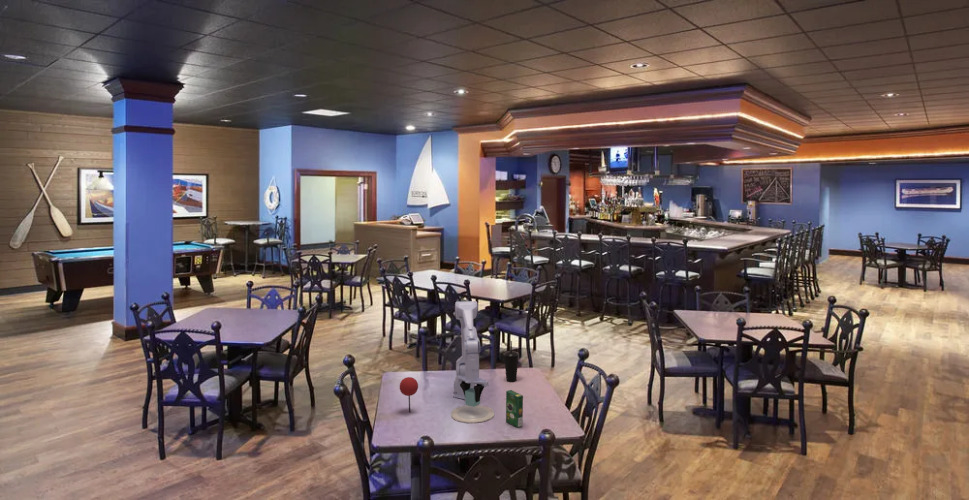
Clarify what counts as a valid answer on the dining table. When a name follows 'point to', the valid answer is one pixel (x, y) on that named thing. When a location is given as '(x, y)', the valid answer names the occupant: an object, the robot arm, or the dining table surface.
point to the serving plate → (472, 414)
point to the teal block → (470, 398)
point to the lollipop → (408, 387)
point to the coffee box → (514, 408)
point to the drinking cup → (511, 364)
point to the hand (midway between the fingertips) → (472, 400)
